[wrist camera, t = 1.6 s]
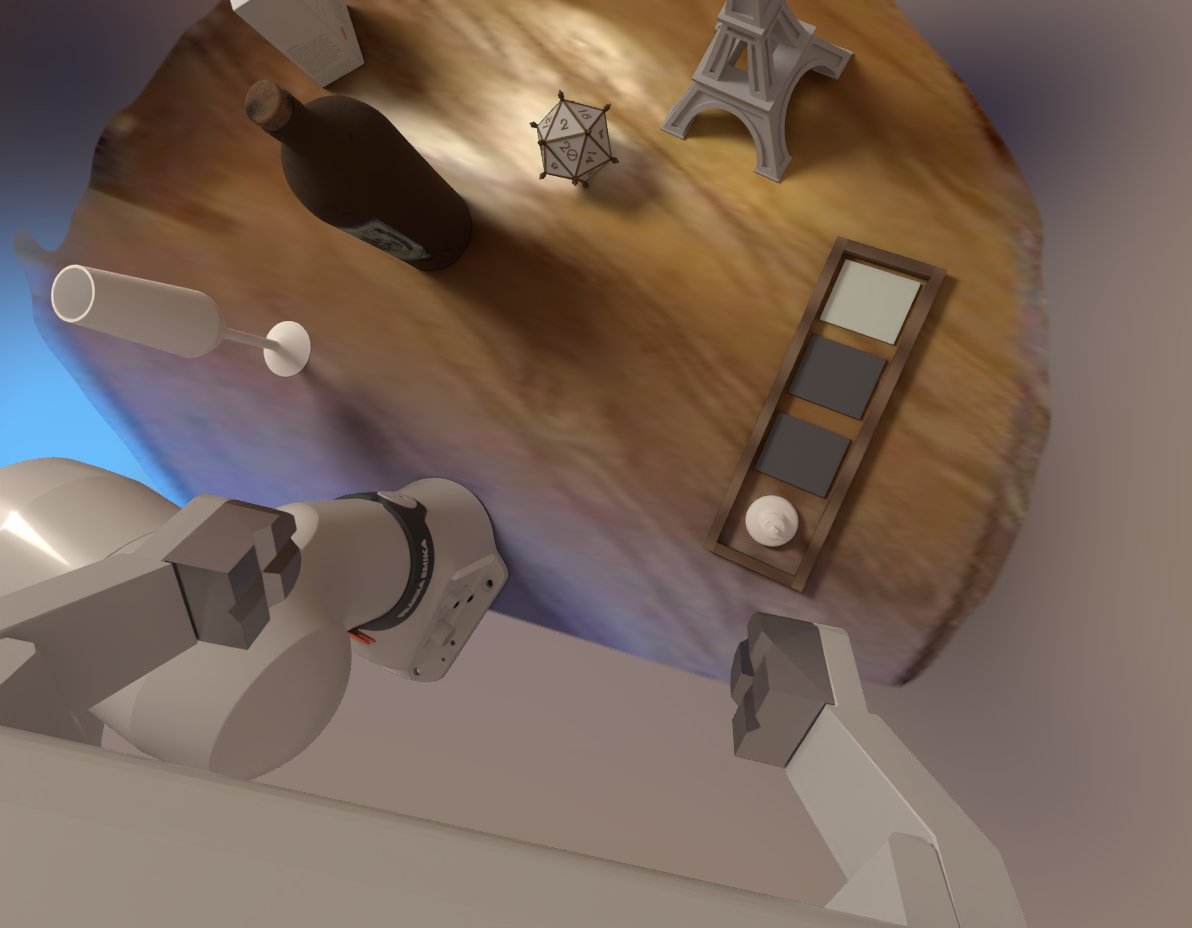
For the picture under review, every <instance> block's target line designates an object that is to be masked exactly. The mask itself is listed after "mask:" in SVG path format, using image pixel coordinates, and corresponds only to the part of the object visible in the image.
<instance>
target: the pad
mask: <svg viewBox="0 0 1192 928" xmlns="http://www.w3.org/2000/svg"><path fill="white" fill-rule="evenodd" d="M920 284H921V283H919V282H916V281H913V280H910V279H907V278H903V277H900V276H897V275H894V274H891V273H888V272H885V271H881V270H878V269H875V268H872V267H869V266H866V265H862V264H859V263H856V262H853V261H850V260H847V259H846V260H845V262H844V264H843V267H842V269H841V271H840V274H839V276H838V278H837V280H836V283H835V285H834V287H833V290H832V292H831V294H830V296H829V299H828V301H827V303H826V306H825V308H824V310H823V312H822V315H821V317H820V319H819V320H822V321H825V322H828V323H831V324H834V325H837V326H839V327H842V328H845V329H848V330H851V331H854V332H857V333H860V334H863V335H866V336H869V337H871V338H874V339H877V340H880V341H883V342H886V343H889V344H892V345H893V344H894V342H895V340H896V337H897V335H898V333H899V331H900V329H901V326H902V324H903V322H904V320H905V318H906V315H907V313H908V311H909V309H910V306H911V304H912V302H913V300H914V298H915V295H916V293H917V291H918V289H919V286H920Z"/></svg>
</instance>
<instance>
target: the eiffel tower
mask: <svg viewBox="0 0 1192 928" xmlns="http://www.w3.org/2000/svg"><path fill="white" fill-rule="evenodd" d="M717 19H718V24H717V26H716V27H715V31H716V32H717V33H716V35H715V37H714V39H713V40H712V42H711V44H710V46H709V48H708V49H707V51H706V53H705V55H704V57H703V59H702V60H701V62H700V64H699V66H698V68H697V70H696V71H695V73H694V75H693V77H692V80H693V81H692V83H691V84H690V86H689V87H688V89H687V90H686V92H685V93H684V94H683V96H682V97H681V98H680V100H679V101H678V102H677V103H676V105H675V104H673V106H672V108H671V110H670V112H669V113H668V115H667V117H666V119H665V121H664V122H663V124H662V126H661V128H660V129H661V130H663V131H665V132H667V133H669V134H671V135H674V136H676V137H678V138H680V139H682V140H684V138H685V136H686V134H687V132H688V130H689V129H690V127H691V125H692V123H693V121H694V120H695V118H696V116H697V114H698V113H699V112H701V111H703V110H706V109H712V108H717V109H723V110H726V111H729V112H731V113H732V114H734V115H736V116H737V117H738V118H739V119H740V120H741V121H742V122H743V123H744V124H745V125H746V126H747V128H748V129H749V131H750V133H751V135H752V137H753V139H754V142H755V146H756V151H757V166H756V167H755V169H754V172H755V173H757V174H759V175H762V176H764V177H766V178H768V179H770V180H773V181H775V182H777V183H778V182H779V180H780V179H781V177H782V175H783V173H784V172H785V170H786V168H787V167H788V165H789V163H790V161H791V160H792V158H793V156H791V155H789V154H788V151H787V147H786V142H785V116H786V110H787V106H788V102H789V99H790V96H791V94H792V91H793V89H794V87H795V85H796V84H797V82H798V81H799V79H800V78H801V77H802V75H803V74H804V73H805V72H806V71H808V70H809V69H811V68H812V67H813V68H812V70H813V71H815V72H818V73H820V74H822V75H825V76H827V77H830V78H832V79H835V80H838V78H839V77H840V75H841V73H842V71H843V70H844V68H845V66H846V64H847V63H848V61H849V59H850V57H851V56H852V54H853V52H851V51H848V50H846V49H843V48H841V47H838V46H835V45H833V44H830V43H828V42H826V41H824V40H822V39H820V38H818V37H816V36H814V35H813V34H814V33H815V31H816V29H817V27H816V26H813V25H810V24H808V23H805V22H803V21H800V20H797V18H796V17H795V16H794V14H793V13H792V11H791V10H790V8H789V6H788V5H787V3H786V1H785V0H726V2H725V4H724V6H723V8H722V10H721V12H720V13H719V15H718V17H717ZM746 46H747V52H748V73H747V72H745V71H742V70H740V69H738V68H735V67H734V65H735V63H736V61H737V59H738V58H739V56H740V54H741V53H742V51H743V50H744V49H745V47H746Z"/></svg>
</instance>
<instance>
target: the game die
mask: <svg viewBox="0 0 1192 928" xmlns="http://www.w3.org/2000/svg"><path fill="white" fill-rule="evenodd" d="M558 96H559V98H560V102H559V103H558V104H557V105H556V106H555V107H554V108H553V109H552V110H551V111H550V112H549V114H548V115H547V116H546V117H545V118H544V119H543V120H542V121H541V122H540V123H539V124H538V125H537V124H536V123H534V121H533V122H531V123H529V124H530V125H531V127H533V128H537V133H538V138H539V141H538V142H537V143H538V144H539V146H540V150H541V155H542V161H543V167H544V172H543V173H542V174H540V178H539V179H544V177H546V174H548V175H553V176H557V177H562V178H566V179H571V180H572V181H573V182H572V183H573V184H574V185H575V186H576V185H577V184H578V181H580V182H583V185H584V188H586V189H587V188H588V186H589V185H588V183H587V182H586V181H587V180H588V179H589V178H590V177H592V176H593V175H594V174H595V173H596V172H597V171H599V170H600V169H601V168H602V167H603V166H604V165H606V164H607V163H608V162H609V161H612V163H614V164H615V163H619V161H618V160H617V158H615V157H614V158H613V157H611V150H610V143H609V136H608V129H607V122H606V115H605V112H606V111H608V110H609V109H610V106H611V104H607V105H606V106H604V109H599V108H595V107H592V106H588V105H584V104H580V103H577V102H574V101H569V100H565V99H564V95H563V92H561V91H560V90H559V94H558Z"/></svg>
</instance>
